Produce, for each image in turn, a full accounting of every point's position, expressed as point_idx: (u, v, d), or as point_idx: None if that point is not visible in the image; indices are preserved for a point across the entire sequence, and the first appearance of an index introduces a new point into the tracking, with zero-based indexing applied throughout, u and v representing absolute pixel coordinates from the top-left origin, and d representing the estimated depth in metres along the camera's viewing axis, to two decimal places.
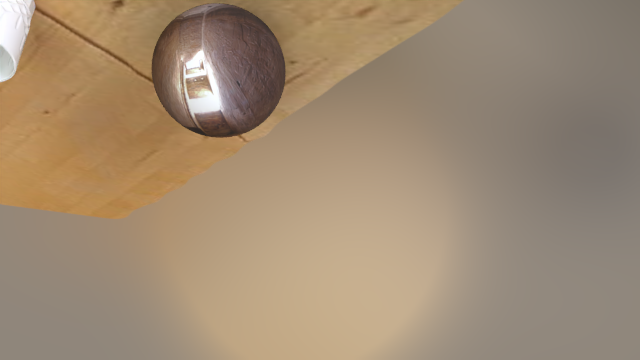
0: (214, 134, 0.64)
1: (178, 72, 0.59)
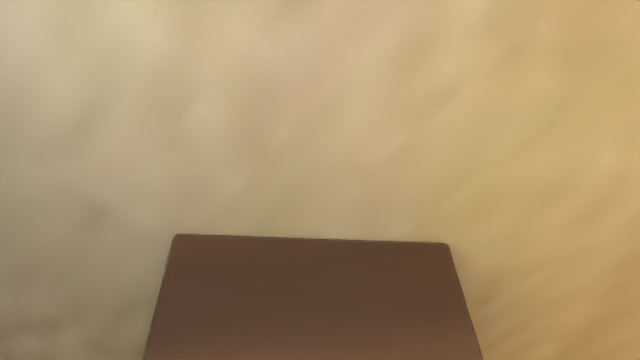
0: None
1: None
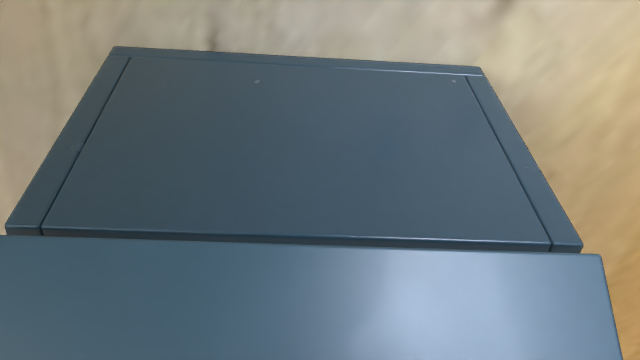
0: None
1: None
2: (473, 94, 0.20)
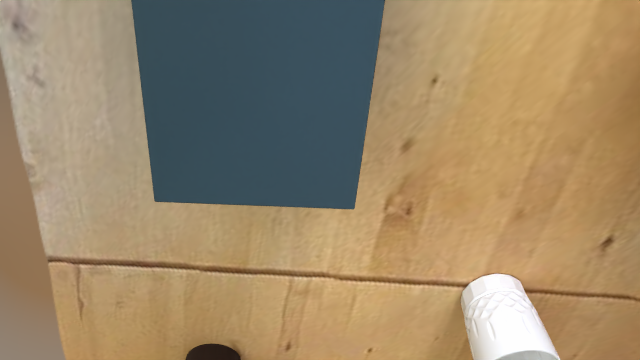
0: None
1: None
2: None
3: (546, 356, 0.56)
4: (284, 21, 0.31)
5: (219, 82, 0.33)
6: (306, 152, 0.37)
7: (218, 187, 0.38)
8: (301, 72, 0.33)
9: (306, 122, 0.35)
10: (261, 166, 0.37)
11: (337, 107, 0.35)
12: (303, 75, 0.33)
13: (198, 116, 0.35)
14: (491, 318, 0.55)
